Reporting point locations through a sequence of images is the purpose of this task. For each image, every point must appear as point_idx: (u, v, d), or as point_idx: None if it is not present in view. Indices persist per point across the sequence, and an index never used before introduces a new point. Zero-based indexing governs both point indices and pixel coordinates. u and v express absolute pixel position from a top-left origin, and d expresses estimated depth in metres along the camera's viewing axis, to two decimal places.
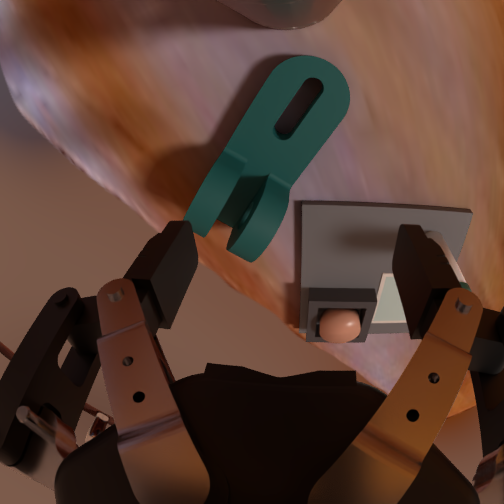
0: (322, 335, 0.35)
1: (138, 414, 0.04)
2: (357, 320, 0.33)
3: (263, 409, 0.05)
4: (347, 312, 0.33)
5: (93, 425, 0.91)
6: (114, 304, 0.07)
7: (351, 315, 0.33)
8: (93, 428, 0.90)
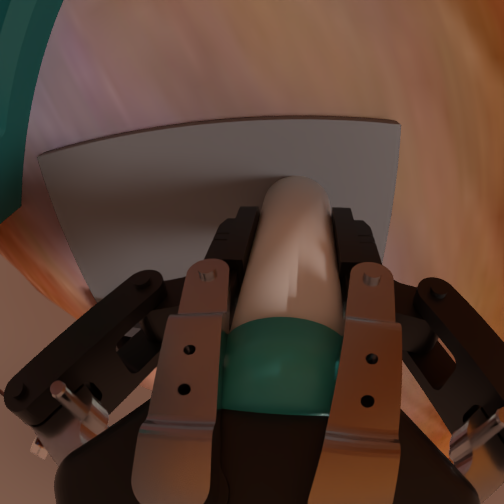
0: None
1: (175, 407, 0.05)
2: None
3: None
4: None
5: None
6: (212, 284, 0.08)
7: None
8: (37, 439, 0.72)
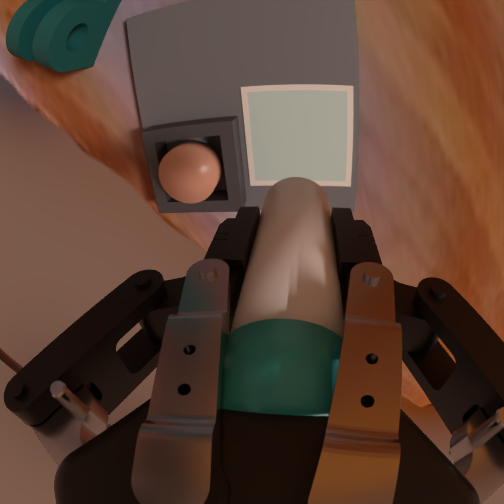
0: (165, 188, 0.24)
1: (175, 407, 0.05)
2: (207, 155, 0.23)
3: None
4: (192, 144, 0.23)
5: None
6: (212, 284, 0.08)
7: (197, 146, 0.23)
8: None
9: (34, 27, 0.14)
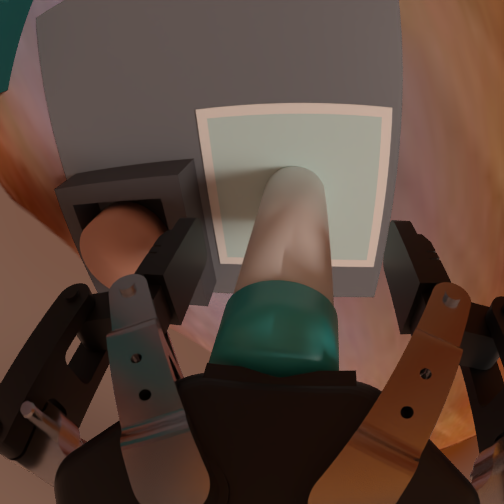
0: (94, 273, 0.16)
1: (143, 413, 0.04)
2: (143, 232, 0.14)
3: (263, 409, 0.05)
4: (121, 212, 0.14)
5: None
6: (127, 299, 0.08)
7: (127, 217, 0.14)
8: None
9: None
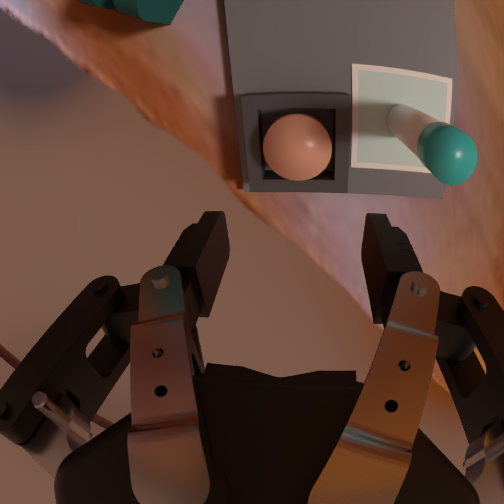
0: (268, 161, 0.22)
1: (156, 409, 0.04)
2: (323, 127, 0.20)
3: (263, 409, 0.05)
4: (304, 115, 0.20)
5: None
6: (161, 290, 0.08)
7: (311, 118, 0.20)
8: None
9: None
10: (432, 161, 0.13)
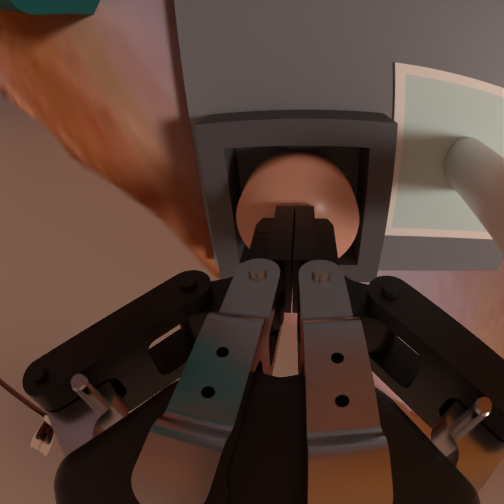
0: (247, 241, 0.13)
1: (195, 408, 0.04)
2: (347, 183, 0.11)
3: (263, 409, 0.05)
4: (312, 158, 0.11)
5: (39, 429, 0.67)
6: (265, 285, 0.08)
7: (325, 164, 0.11)
8: (39, 432, 0.66)
9: None
10: None
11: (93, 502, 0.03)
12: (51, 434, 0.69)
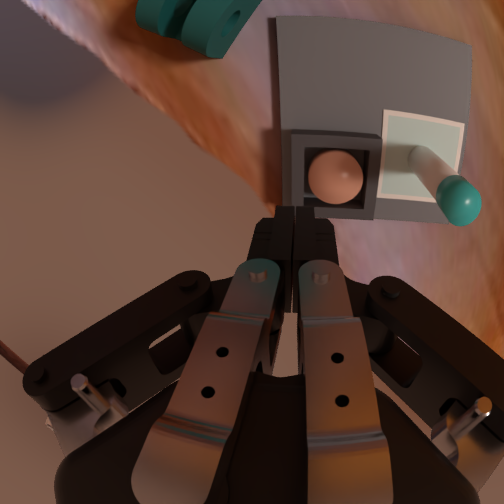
0: (312, 187, 0.27)
1: (195, 408, 0.04)
2: (357, 162, 0.25)
3: (263, 409, 0.05)
4: (343, 150, 0.25)
5: None
6: (265, 285, 0.08)
7: (348, 153, 0.25)
8: None
9: None
10: (447, 207, 0.17)
11: (93, 502, 0.03)
12: None
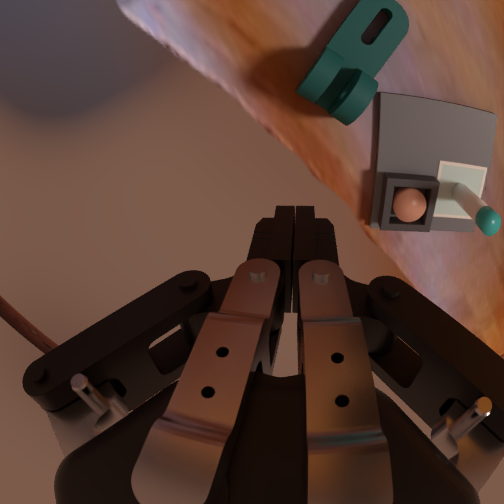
0: (395, 211, 0.38)
1: (195, 409, 0.04)
2: None
3: (263, 409, 0.05)
4: (415, 188, 0.36)
5: None
6: (265, 285, 0.08)
7: (418, 190, 0.36)
8: None
9: None
10: (483, 225, 0.28)
11: (93, 502, 0.03)
12: None
